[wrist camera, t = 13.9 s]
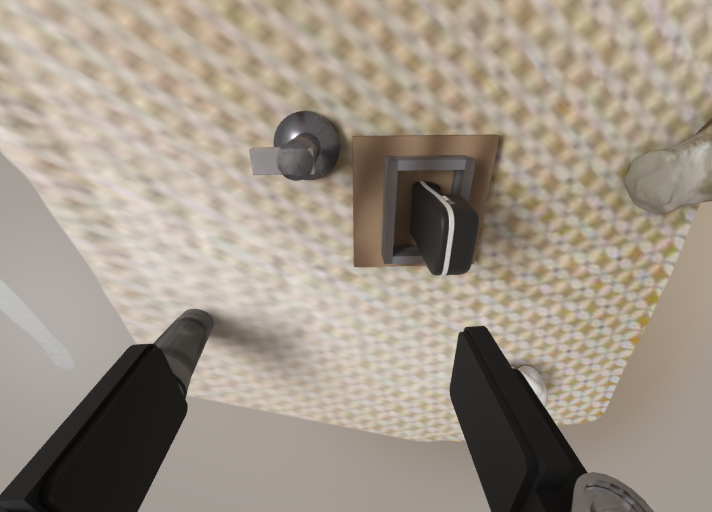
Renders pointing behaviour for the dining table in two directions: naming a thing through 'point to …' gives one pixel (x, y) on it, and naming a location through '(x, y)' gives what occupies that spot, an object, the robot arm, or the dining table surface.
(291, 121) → the post
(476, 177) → the holder
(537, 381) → the knot
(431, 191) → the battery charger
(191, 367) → the beverage cup
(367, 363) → the dining table surface
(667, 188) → the ceramic sculpture
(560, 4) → the dining table surface
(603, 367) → the dining table surface
